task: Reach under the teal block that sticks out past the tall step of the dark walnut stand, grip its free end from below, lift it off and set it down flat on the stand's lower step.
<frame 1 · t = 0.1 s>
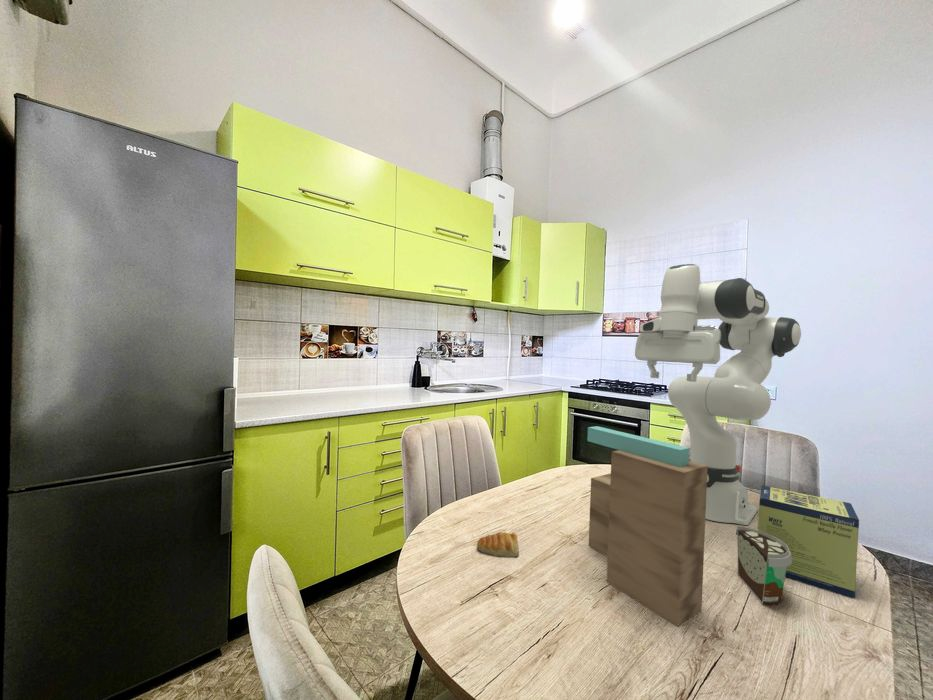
hand: (672, 379, 98), 39 cm above the table, tool pointing down, fingers open, 8 cm apart
protein box: (801, 572, 82), on the table
teal block: (633, 451, 76), point 26 cm above the table, touching walnut stand
food container: (767, 592, 75), on the table
pastry: (500, 551, 87), on the table
walnut stand: (638, 571, 80), on the table
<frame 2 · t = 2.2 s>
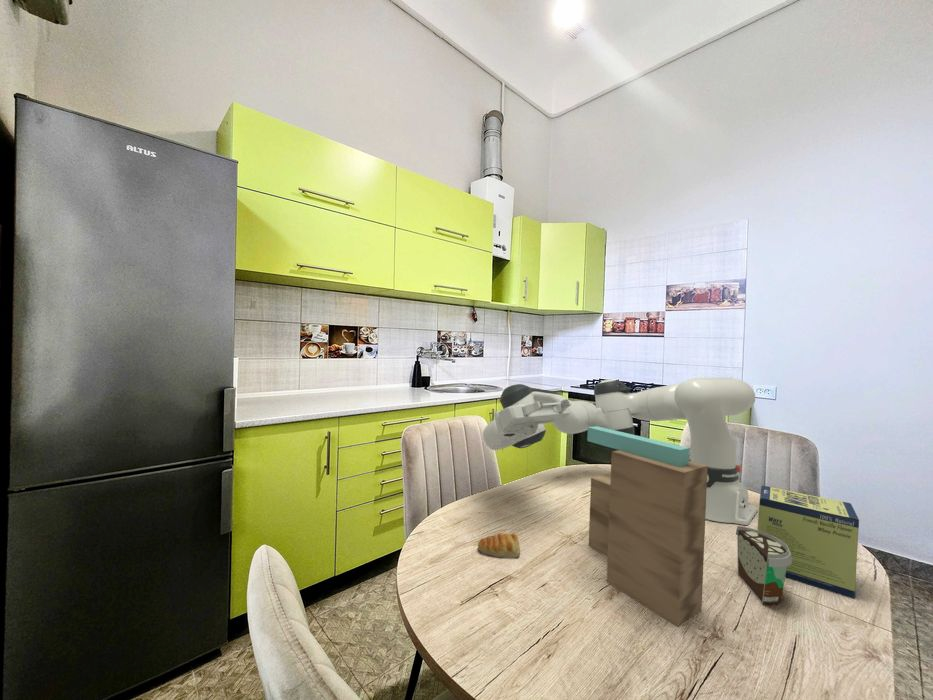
hand: (554, 403, 94), 33 cm above the table, tool pointing upward, fingers open, 8 cm apart
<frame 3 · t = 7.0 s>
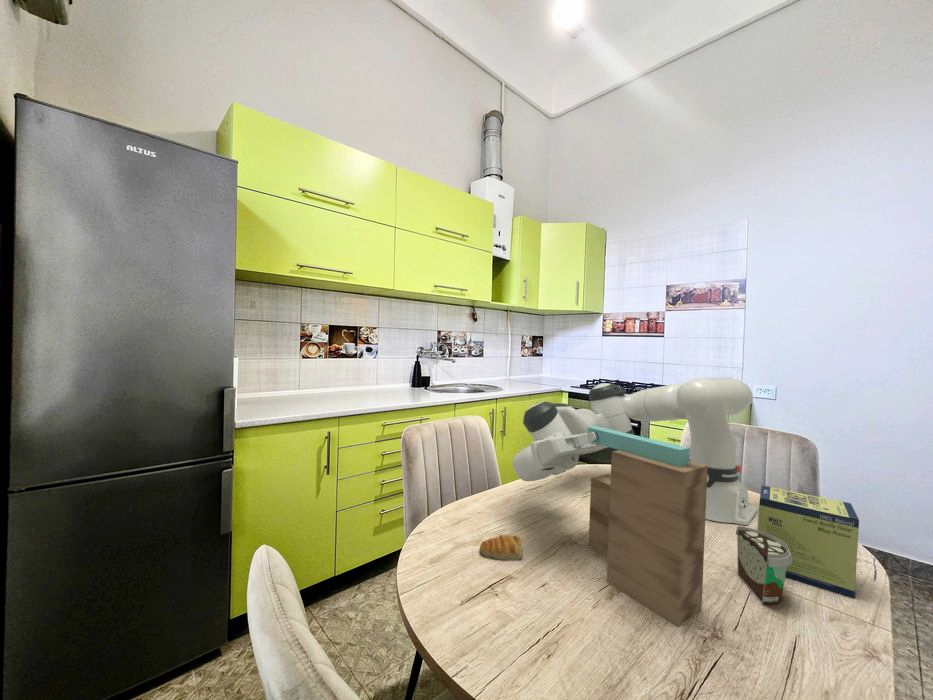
hand: (602, 434, 82), 28 cm above the table, tool pointing upward, fingers closed on teal block, 3 cm apart
teal block: (633, 451, 76), point 26 cm above the table, touching gripper, walnut stand
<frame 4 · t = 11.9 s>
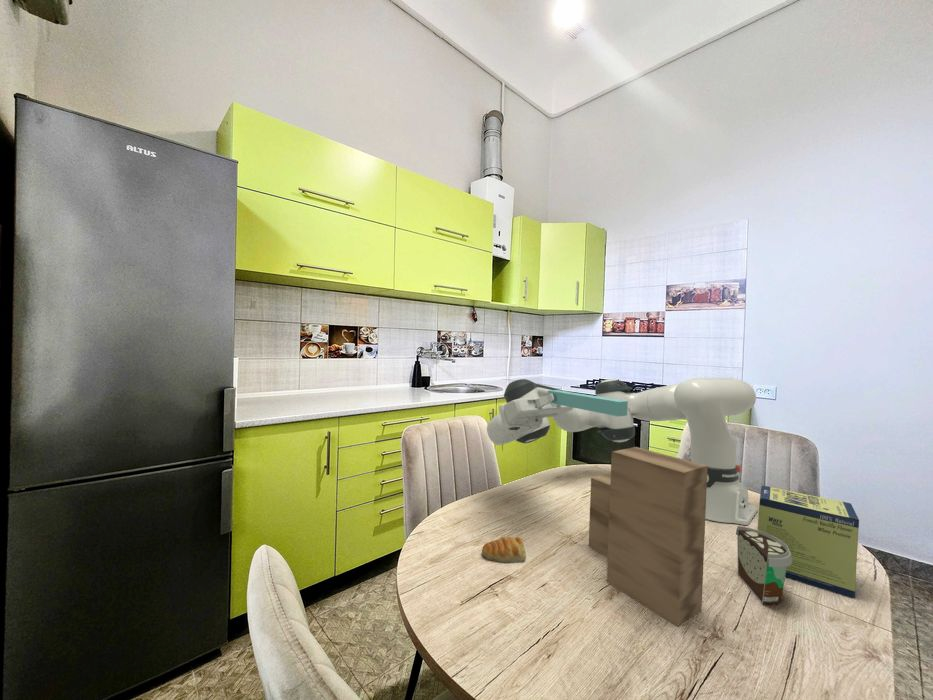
hand: (560, 395, 94), 34 cm above the table, tool pointing upward, fingers closed on teal block, 3 cm apart
teal block: (583, 408, 88), point 32 cm above the table, touching gripper
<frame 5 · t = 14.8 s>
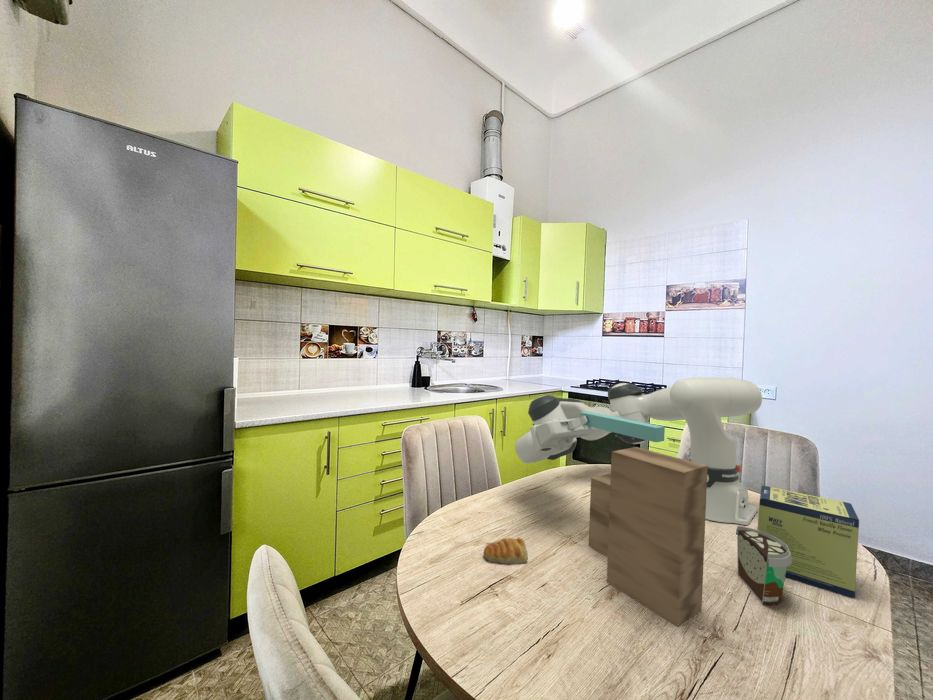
hand: (593, 418, 95), 29 cm above the table, tool pointing upward, fingers closed on teal block, 3 cm apart
teal block: (618, 431, 89), point 27 cm above the table, touching gripper
when the fingers open (20 cm above the table, at t = 17.1 s): teal block drops 2 cm, resting on walnut stand.
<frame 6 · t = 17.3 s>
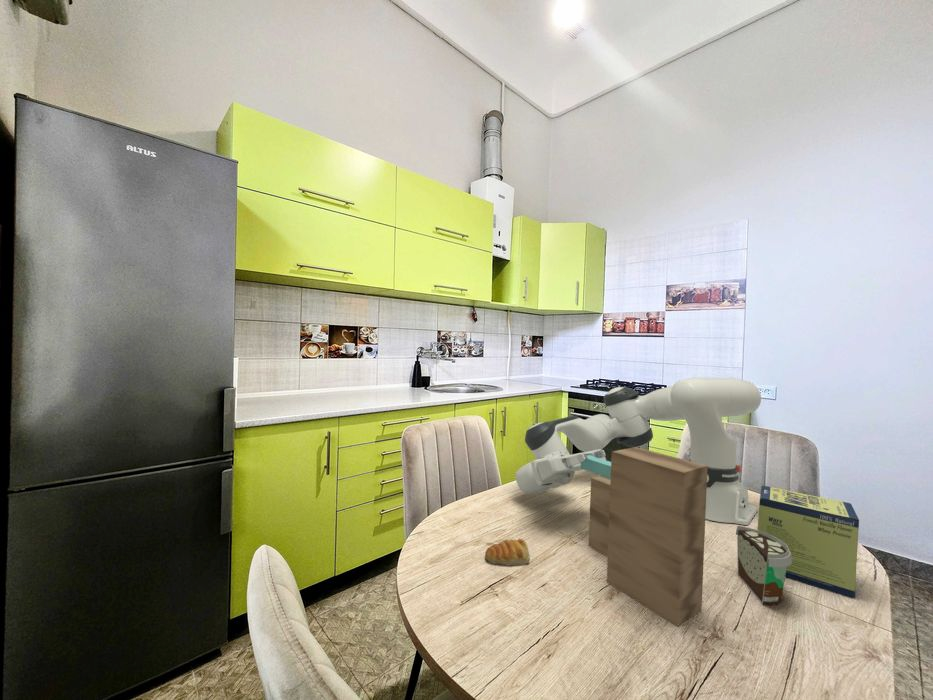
hand: (594, 454, 95), 20 cm above the table, tool pointing upward, fingers open, 5 cm apart
teal block: (619, 479, 89), point 16 cm above the table, touching walnut stand
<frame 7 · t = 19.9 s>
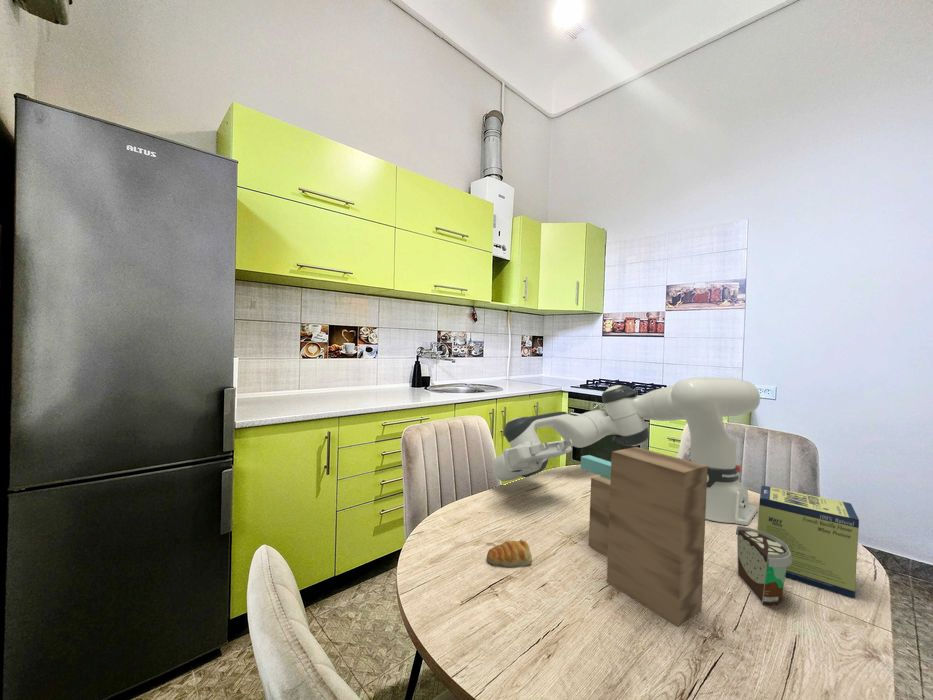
hand: (558, 443, 105), 20 cm above the table, tool pointing upward, fingers open, 8 cm apart
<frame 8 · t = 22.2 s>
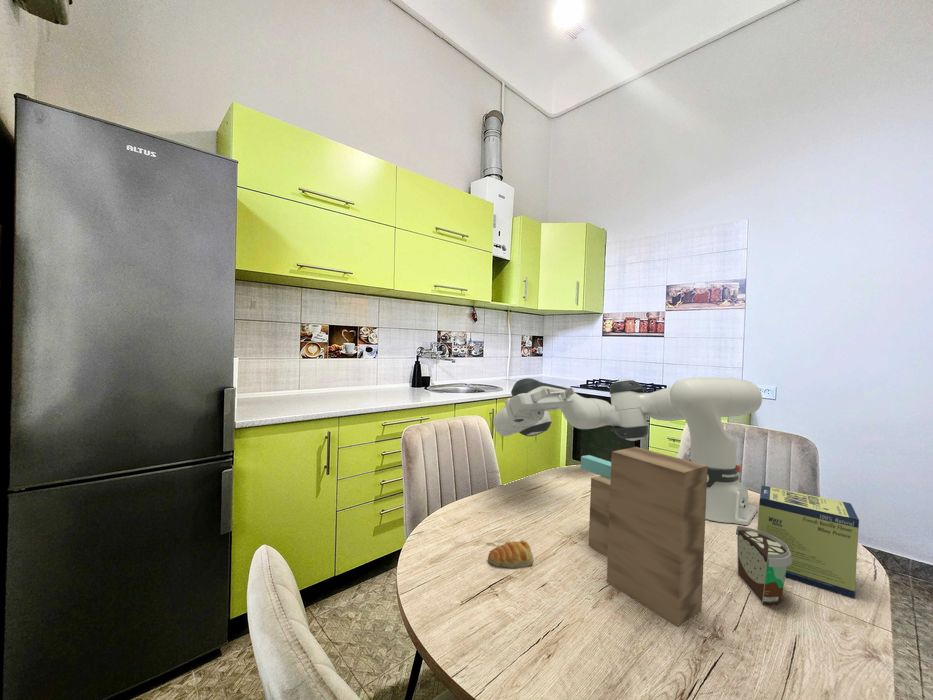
hand: (560, 390, 105), 34 cm above the table, tool pointing upward, fingers open, 8 cm apart
at the end: teal block inside the target area (1.1 cm from its centre), point 16.0 cm above the table; teal block tilted 0°; the gripper is holding nothing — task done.
